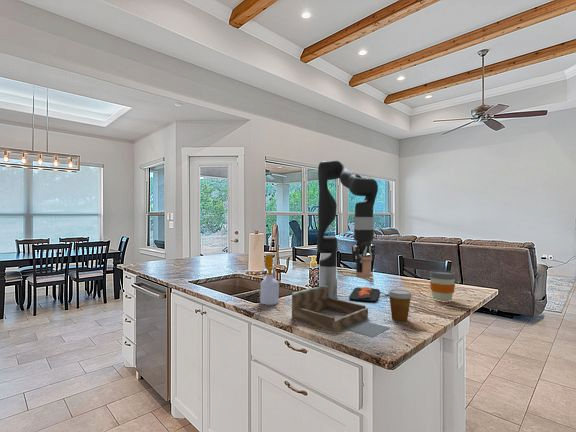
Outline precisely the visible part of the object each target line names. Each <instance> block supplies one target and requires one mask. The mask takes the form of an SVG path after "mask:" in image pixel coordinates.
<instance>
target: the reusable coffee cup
mask: <svg viewBox="0 0 576 432" xmlns="http://www.w3.org/2000/svg"><path fill="white" fill-rule="evenodd" d="M429 278H430V279H429V280H430V281H429V283H430V284H429V285H430V290H431V294H432V300H433V299H436V300H441V301H449V300H453V295H454V293H455V286H456V283H455V280H456V273H455V272H453V271H450V270H449V271H448V270H437V269H435V270H430V271H429Z"/></svg>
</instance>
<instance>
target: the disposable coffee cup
mask: <svg viewBox="0 0 576 432" xmlns="http://www.w3.org/2000/svg"><path fill="white" fill-rule="evenodd" d="M388 294H389V296H388V298H389V302H390V303H389V305H390V313H391V319H392V320H393V321H395V322H399V323H400V322H402V323H404V322H408V319H409V312H410V311H409V310H410V305H411V298H412V292H411V291H409V290H406V289H400V288H399V289H397V288H394V289H390V290H389V292H388ZM388 294H387V295H388Z"/></svg>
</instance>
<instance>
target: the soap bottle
mask: <svg viewBox="0 0 576 432" xmlns="http://www.w3.org/2000/svg"><path fill="white" fill-rule="evenodd" d="M274 256H275V253H274V254H265V256H264V268H265V269H266V270H267V272H266V277H265V278H264V279H262V280H261V281H260V292H259V293H260V299H259V300H260V304H262V305H264V304H265V306H272V305H273V306H274V305H277V304H279V292H280V291H279V290H280V289H279V287H280V284H279V281H278V280H277V279H275V278H274V272H272V271H273V270H275V269H276V268H275V267H274Z"/></svg>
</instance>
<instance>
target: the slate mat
mask: <svg viewBox="0 0 576 432" xmlns="http://www.w3.org/2000/svg"><path fill="white" fill-rule="evenodd" d="M389 329H391V327H390V326H385V325H382V324H378V323H374V322H370V321H366V320H361V321H359V322H357V323H354V324H352V325H350V326H348V327H345V328H344V330H347V331H350V332H354V333H355V334H356V333H357V334H358V335H359V334H360V335H363V336H367V337H371V338H375V337H376V336H378V335H380V334H382V333H384V332H386V331H387V330H389Z"/></svg>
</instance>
